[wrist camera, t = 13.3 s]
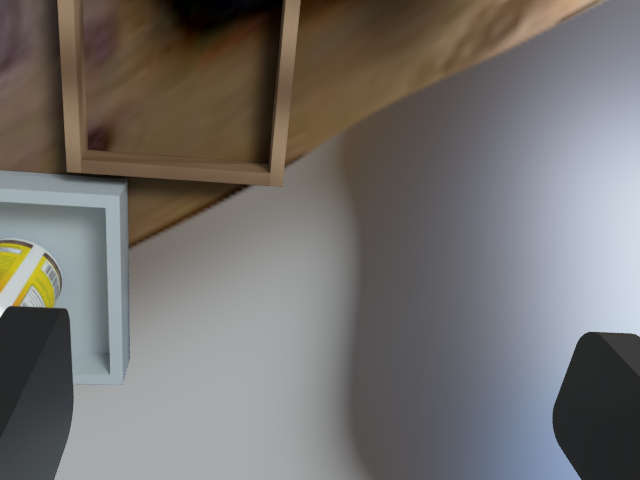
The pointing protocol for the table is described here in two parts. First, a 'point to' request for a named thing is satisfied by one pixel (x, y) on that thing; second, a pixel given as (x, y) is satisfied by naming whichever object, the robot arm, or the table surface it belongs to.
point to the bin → (80, 259)
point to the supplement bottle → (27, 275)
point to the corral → (161, 165)
